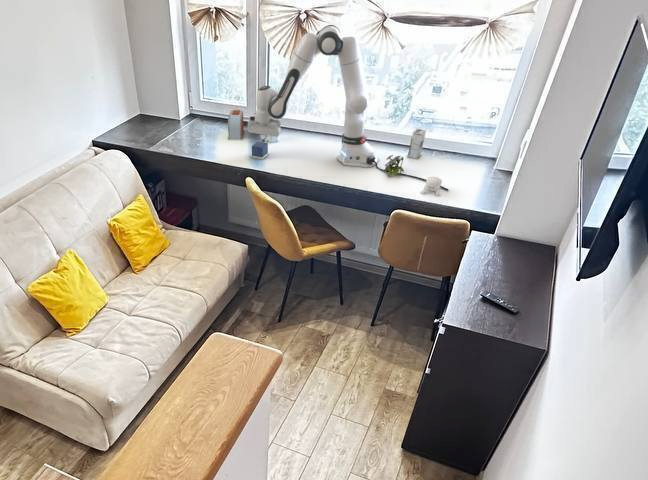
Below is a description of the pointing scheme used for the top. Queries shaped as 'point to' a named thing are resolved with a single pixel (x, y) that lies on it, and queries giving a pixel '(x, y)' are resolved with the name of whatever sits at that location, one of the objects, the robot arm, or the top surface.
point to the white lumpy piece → (433, 184)
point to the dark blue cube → (259, 150)
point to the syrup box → (416, 143)
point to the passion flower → (394, 168)
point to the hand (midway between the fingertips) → (264, 141)
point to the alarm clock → (235, 124)
